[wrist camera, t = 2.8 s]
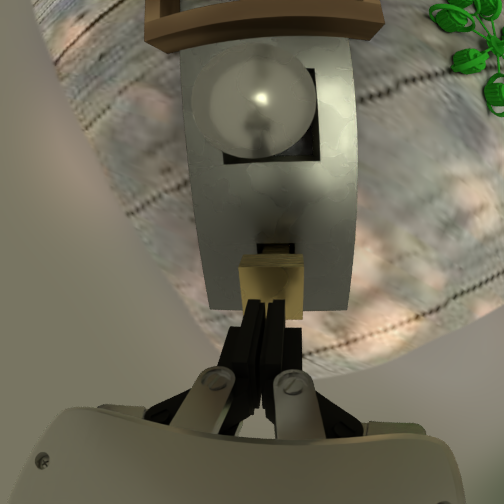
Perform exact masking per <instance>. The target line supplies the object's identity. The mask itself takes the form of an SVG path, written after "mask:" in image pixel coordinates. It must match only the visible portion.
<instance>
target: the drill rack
mask: <svg viewBox="0 0 504 504" xmlns="http://www.w3.org/2000/svg"><path fill="white" fill-rule="evenodd" d="M384 24H385V21H384V17H383V12H382V8H381V4H380V0H240V1H233V2H226V3H220V4H214V5H209V6H204V7H200V8H195V9H191V10H187V11H183V12H180V0H145V26H144V42H146V43H148V44H150V45H152V46H154V47H156V48H158V49H160V50H161V51H163V52H165V53H167V54H169V53H173V52H176V51H180V50H184V49H188V48H193V47H198V46H203V45H208V44H214V43H220V42H226V41H233V40H241V39H250V38H261V37H277V36H327V37H343V38H352V39H361V40H369V41H370V40H371V38H372V37H373V36H374V35H375V34H376V33H377V32H378V31H379V30H380V29H381V28H382V27H383V25H384Z"/></svg>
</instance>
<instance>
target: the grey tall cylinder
mask: <svg viewBox="0 0 504 504" xmlns="http://www.w3.org/2000/svg"><path fill="white" fill-rule="evenodd" d="M191 108H192V114H193V117H194V120H195V123H196V125H197V127H198V129H199V130H200V132H201V133H202V135H203V136H204V137H205V138H206V139H207V140H208V141H209V142H210V143H211V144H212V145H213V146H215V147H216V148H218V149H219V150H221V151H223V152H225V153H227V154H230V155H233V156H237V157H241V158H264V157H269V156H273V155H275V154H278V153H281V152H283V151H284V150H286V149H288V148H290V147H291V146H292V145H294V144H295V143H296V142H297V141H298V140H299V139H300V138H301V137H302V136H303V135H304V134H305V133H306V131H307V129H308V128H309V126H310V124H311V122H312V120H313V117H314V114H315V109H316V91H315V86H314V83H313V80H312V78H311V76H310V74H309V72H308V71H307V69H306V68H305V66H304V65H303V64H302V63H301V62H300V61H299V60H298V59H297V58H296V57H295V56H293V55H292V54H290V53H289V52H287V51H285V50H283V49H281V48H279V47H276V46H273V45H268V44H262V43H247V44H241V45H237V46H233V47H231V48H228V49H226V50H224V51H222V52H220V53H219V54H217V55H216V56H214V57H213V58H212V59H211V60H210V61H209V62H208V63H207V64H206V65H205V66H204V67H203V68H202V70H201V71H200V73H199V75H198V76H197V78H196V81H195V83H194V86H193V90H192V96H191Z"/></svg>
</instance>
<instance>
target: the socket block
mask: <svg viewBox="0 0 504 504" xmlns="http://www.w3.org/2000/svg"><path fill="white" fill-rule="evenodd" d="M247 43H262V44H268V45H273V46H276V47H279V48H281V49H283V50H285V51H287V52H289V53H290V54H292V55H293V56H295V57H296V58H297V59H298V60H299V61H300V62H301V63H302V64H303V65H304V66H305V68H306V69H307V71H308V72H309V74H310V76H311V78H312V80H313V83H314V86H315V91H316V109H315V114H314V117H313V120H312V141H313V155H293V156H269V157H264V158H239V157H237V156H233V155H230V154H227V153H225V152H223V151H221V150H219V149H218V148H216V147H215V146H213V145H212V144H211V143H210V142H209V141H208V140H207V139H206V138H205V137H204V136H203V135H202V133H201V132H200V130H199V129H198V127H197V125H196V123H195V120H194V117H193V114H192V108H191V96H192V90H193V86H194V83H195V81H196V78H197V76H198V75H199V73H200V71H201V70H202V68H203V67H204V66H205V65H206V64H207V63H208V62H209V61H210V60H211V59H212V58H213V57H214V56H216V55H217V54H219V53H220V52H222V51H224V50H226V49H228V48H231V47H233V46H237V45H241V44H247ZM180 72H181V89H182V103H183V116H184V127H185V138H186V148H187V158H188V167H189V176H190V184H191V192H192V200H193V208H194V215H195V222H196V229H197V236H198V242H199V249H200V255H201V261H202V267H203V273H204V279H205V285H206V291H207V296H208V302H209V307H210V309H214V310H242V311H243V307H242V298H241V288H240V279H239V269H238V267H239V264H240V262H241V259H242V256H243V254H262V252H263V248H264V243H294V247H289V254H303V260H304V291H303V311H336V310H347V307H348V300H349V292H350V284H351V275H352V266H353V256H354V244H355V230H356V213H357V181H358V151H357V120H356V104H355V91H354V80H353V70H352V62H351V54H350V47H349V40H348V38H343V37H327V36H277V37H261V38H250V39H241V40H233V41H226V42H220V43H214V44H208V45H203V46H198V47H193V48H188V49H184V50H180Z"/></svg>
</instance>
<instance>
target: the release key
mask: <svg viewBox="0 0 504 504" xmlns="http://www.w3.org/2000/svg"><path fill="white" fill-rule="evenodd" d="M238 269H239V279H240V288H241V298H242V307H243V316H244V312H245V309H246V305H247V301H248V299H260V300H261V302H265V310H266V315H267V309H268V303H269V302H271V303H273V299H285V320H302V319H303V291H304V260H303V254H289V243H264V248H263V252H262V254H243V256H242V259H241V262H240V264H239V267H238Z"/></svg>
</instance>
